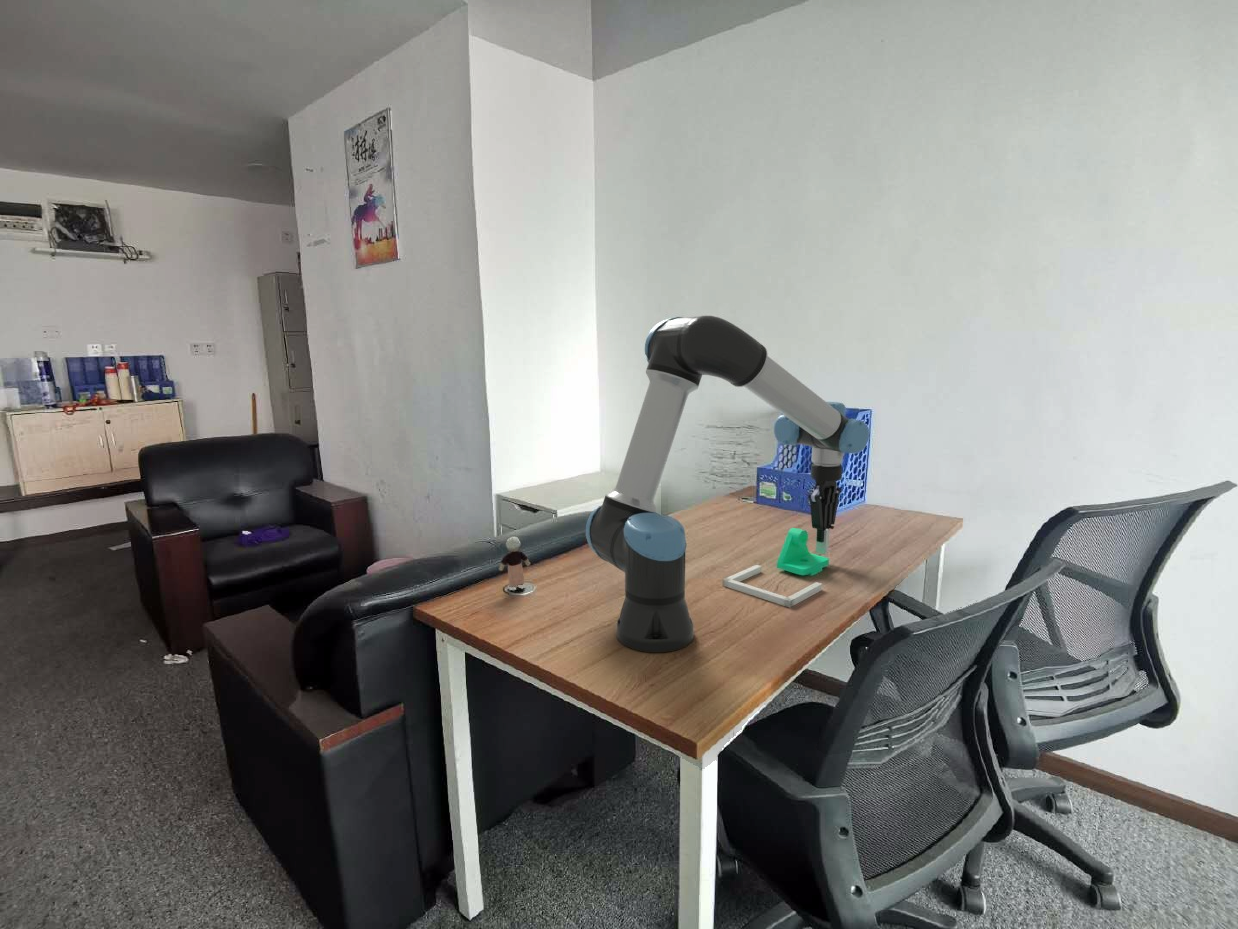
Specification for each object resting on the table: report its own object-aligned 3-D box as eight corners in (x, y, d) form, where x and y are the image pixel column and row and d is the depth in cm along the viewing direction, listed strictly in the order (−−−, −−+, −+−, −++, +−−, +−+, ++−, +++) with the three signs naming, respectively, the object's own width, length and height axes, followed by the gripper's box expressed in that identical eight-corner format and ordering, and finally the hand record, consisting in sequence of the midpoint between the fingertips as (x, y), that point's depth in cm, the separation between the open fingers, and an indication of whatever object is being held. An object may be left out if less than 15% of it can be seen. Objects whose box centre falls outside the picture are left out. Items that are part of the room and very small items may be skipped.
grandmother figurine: (523, 582, 152) (521, 532, 150) (533, 586, 149) (531, 535, 147) (496, 591, 147) (493, 539, 144) (506, 595, 144) (503, 542, 142)
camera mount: (803, 580, 152) (804, 539, 150) (776, 571, 158) (778, 532, 156) (830, 568, 160) (832, 529, 158) (803, 560, 165) (805, 523, 163)
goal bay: (756, 570, 158) (756, 564, 158) (821, 589, 145) (822, 583, 145) (722, 585, 149) (722, 579, 148) (789, 607, 136) (790, 601, 136)
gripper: (827, 469, 151) (822, 562, 155) (853, 462, 160) (847, 550, 164) (799, 465, 156) (795, 555, 161) (825, 458, 165) (821, 544, 169)
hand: (821, 552), depth 162 cm, fingers closed
